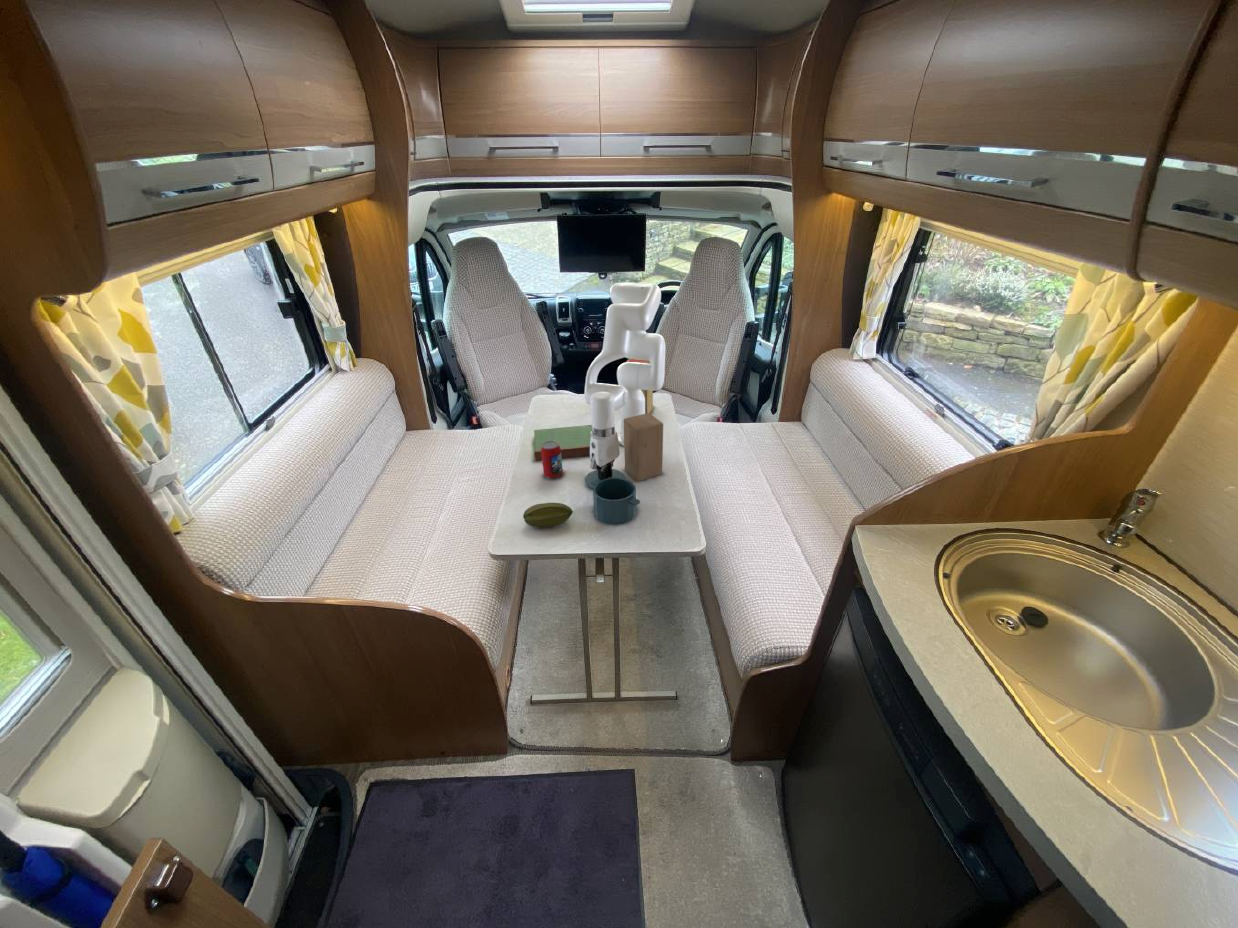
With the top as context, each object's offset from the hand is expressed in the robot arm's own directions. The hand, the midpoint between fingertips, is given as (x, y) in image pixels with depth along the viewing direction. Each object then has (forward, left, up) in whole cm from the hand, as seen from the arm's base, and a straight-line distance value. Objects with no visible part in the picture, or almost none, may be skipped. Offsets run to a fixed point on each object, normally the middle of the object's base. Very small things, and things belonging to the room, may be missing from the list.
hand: (605, 477), depth 171 cm
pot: (+11, +15, -1) cm, 19 cm away
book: (-9, -29, -2) cm, 31 cm away
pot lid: (0, 0, -1) cm, 1 cm away
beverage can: (+9, -17, -2) cm, 19 cm away
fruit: (+29, +4, -2) cm, 29 cm away
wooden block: (-13, +6, -2) cm, 14 cm away
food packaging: (-52, -29, -2) cm, 59 cm away
